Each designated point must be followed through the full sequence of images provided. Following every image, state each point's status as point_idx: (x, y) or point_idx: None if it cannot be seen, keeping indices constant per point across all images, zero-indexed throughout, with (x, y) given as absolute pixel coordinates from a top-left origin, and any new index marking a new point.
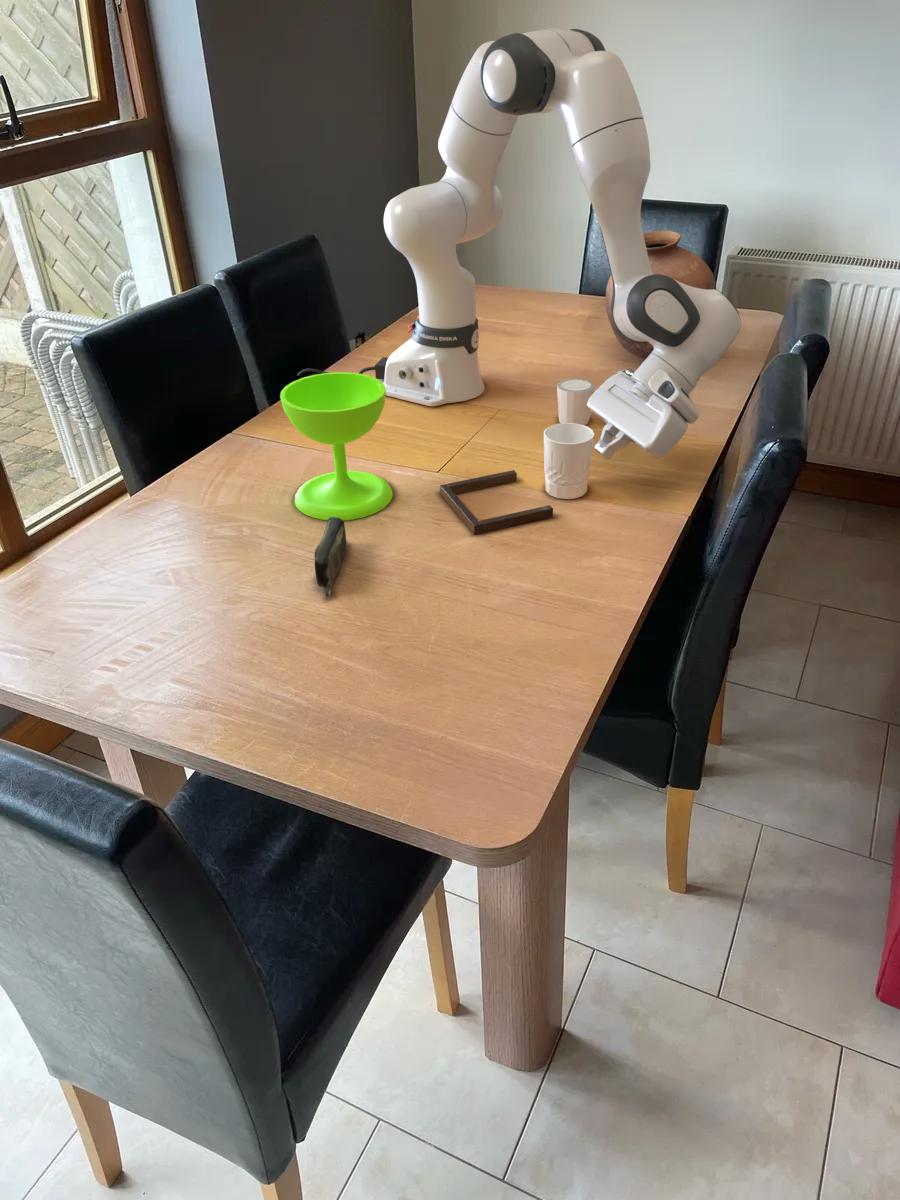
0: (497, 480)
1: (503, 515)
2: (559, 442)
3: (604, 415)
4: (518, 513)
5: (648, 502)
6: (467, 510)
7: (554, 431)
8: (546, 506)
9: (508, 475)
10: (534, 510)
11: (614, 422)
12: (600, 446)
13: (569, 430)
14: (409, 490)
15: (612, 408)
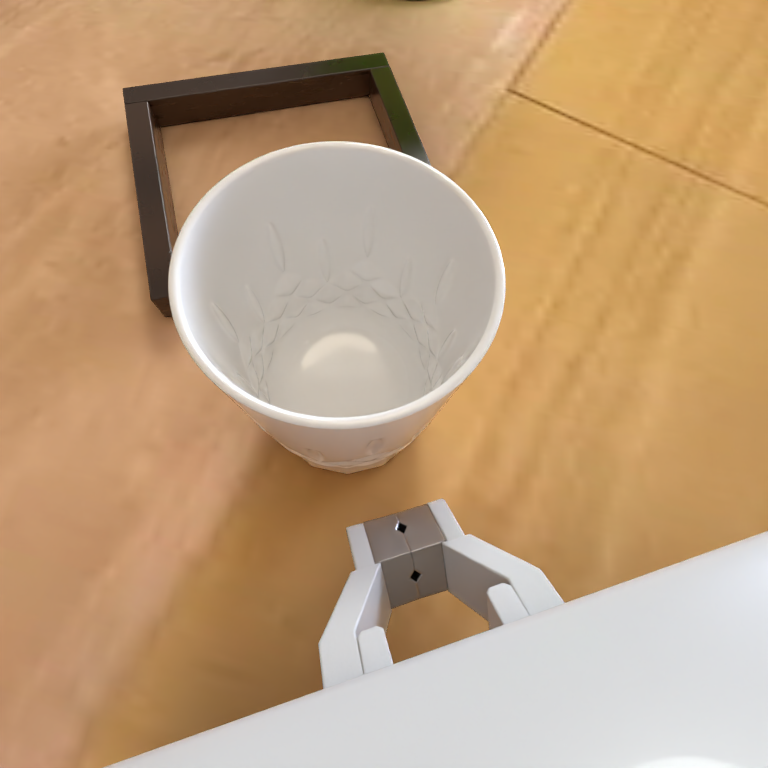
0: None
1: (154, 159)
2: (212, 187)
3: (634, 591)
4: (152, 197)
5: (168, 725)
6: (217, 86)
7: (463, 242)
8: None
9: None
10: (154, 242)
11: (481, 649)
12: (407, 525)
13: (477, 325)
14: (413, 29)
15: (687, 684)
